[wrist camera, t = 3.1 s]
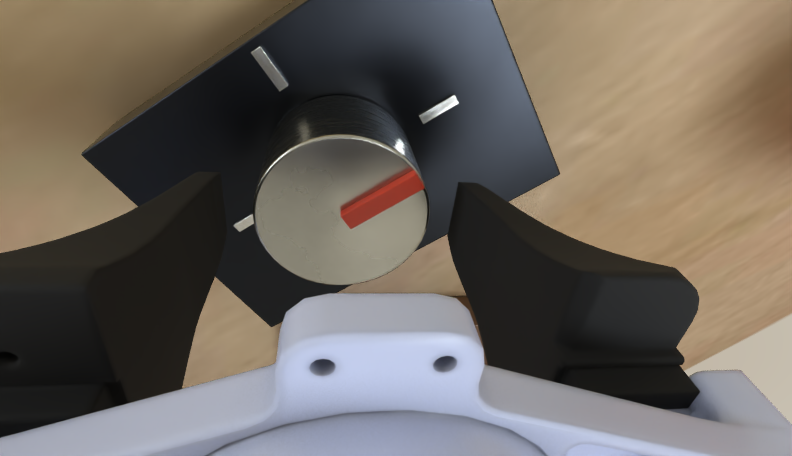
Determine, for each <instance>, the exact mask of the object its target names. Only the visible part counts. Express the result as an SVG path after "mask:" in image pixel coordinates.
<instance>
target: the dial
mask: <svg viewBox="0 0 792 456" xmlns="http://www.w3.org/2000/svg"><path fill="white" fill-rule="evenodd" d="M429 213H430V205H429V197H428V192H427V189H426V186H425V183H424V180H423V178H422V175H421V172H420V170H419V167H418V164H417V162H416V159H415V157H414V154H413V151H412V149H411V146H410V144H409V141H408V138H407V136H406V134H405V132H404V130H403V129H402V128H401V126H400V125H399V123H398V122H397V121H396V120H395V119H394V118H393V117H392V116H391V115H390V114H389V113H388V112H387V111H385V110H384V109H383V108H381V107H379V106H378V105H376V104H374V103H372V102H370V101H367V100H364V99H361V98H358V97H352V96H346V95H333V96H324V97H320V98H316V99H313V100H310V101H308V102H305V103H303V104H302V105H300V106H298V107H296V108H295V109H294V110H292V111H291V112H289V113H288V114H287V115H286V116H285V117H284V118H283V119H282V120H281V122H280V123H279V124H278V126H277V127H276V129H275V130H274V132H273V134H272V136H271V139H270V141H269V144H268V148H267V151H266V155H265V158H264V162H263V166H262V169H261V173H260V176H259V180H258V183H257V187H256V191H255V195H254V200H253V220H254V225H255V229H256V232H257V234H258V237H259V239H260V241H261V243H262V244H263V246H264V247H265V249H266V251H267V252H268V253H269V254H270V255H271V257H272V258H273V259H274V260H275V261H277V262H278V263H279V264H280V265H281V266H283V267H284V268H285V269H287V270H288V271H290V272H292V273H294V274H295V275H297V276H299V277H302V278H304V279H307V280H310V281H314V282H317V283H323V284H330V285H351V284H358V283H363V282H367V281H370V280H373V279H376V278H379V277H381V276H383V275H385V274H387V273H389V272H391V271H392V270H394V269H396V268H397V267H398V266H400V265H401V264H402V263H404V262H405V261H406V260H407V259H408V258H409V257H410V256H411V255H412V253H413V252H414V251H415V250H416V248H417V247H418V245H419V244H420V242H421V240H422V238H423V236H424V234H425V231H426V228H427V225H428V221H429Z"/></svg>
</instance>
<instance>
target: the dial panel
mask: <svg viewBox="0 0 792 456" xmlns="http://www.w3.org/2000/svg"><path fill="white" fill-rule="evenodd" d="M333 95H346V96H352V97H358V98H361V99H364V100H367V101H370V102H372V103H374V104H376V105H378V106H379V107H381V108H383V109H384V110H385V111H387V112H388V113H389V114H390V115H391V116H392V117H393V118H394V119H395V120H396V121H397V122H398V123H399V125H400V126H401V128H402V129H403V130H404V132H405V134H406V136H407V138H408V141H409V144H410V146H411V149H412V151H413V154H414V157H415V159H416V162H417V164H418V167H419V170H420V172H421V175H422V178H423V180H424V183H425V186H426V189H427V192H428V197H429V205H430V213H429V221H428V225H427V228H426V231H425V234H424V236H423V238H422V240H421V242H420V244H419V245H418V247H417V248H416V250H418V249H420V248H422V247H424V246H426V245H428V244H430V243H431V242H433V241H435V240H437V239H439V238H441V237H443V236H445V235H447V234H448V231H449V226H450V221H451V216H452V211H453V206H454V201H455V196H456V191H457V186H458V182H470V183H478V184H481V185H482V186H484V187H486V188H487V189H489V190H491V191H492V192H494V193H495V194H497V195H498V196H500V197H501V198H503V199H504V200H506V201H507V202H509V201H511V200H513V199H514V198H516V197H518V196H520V195H522V194H524V193H526V192H528V191H530V190H531V189H533V188H535V187H537V186H539V185H541V184H543V183H545V182H547V181H548V180H550V179H552V178H554V177H556V176H558V175H559V174H560V172H559V169H558V167H557V164H556V162H555V159H554V157H553V154H552V151H551V149H550V146H549V144H548V141H547V139H546V136H545V134H544V131H543V128H542V126H541V123H540V121H539V118H538V116H537V113H536V110H535V108H534V105H533V103H532V100H531V98H530V95H529V93H528V90H527V87H526V85H525V82H524V80H523V77H522V75H521V72H520V70H519V67H518V64H517V62H516V59H515V57H514V54H513V52H512V49H511V47H510V44H509V41H508V39H507V36H506V34H505V31H504V29H503V26H502V24H501V21H500V18H499V16H498V13H497V11H496V8H495V6H494V3H493V1H492V0H294V1H293V2H291V3H290V4H288V5H287V6H285V7H284V8H283V9H281V10H280V11H278V12H277V13H275V14H274V15H272V16H271V17H269V18H268V19H266V20H265V21H263V22H262V23H261V24H259V25H258V26H256V27H255V28H253V29H252V30H250V31H249V32H247V33H246V34H244V35H243V36H242V37H240V38H239V39H237V40H236V41H234V42H233V43H231V44H230V45H228V46H227V47H225V48H224V49H223V50H221V51H220V52H218V53H217V54H215V55H214V56H212V57H211V58H209V59H208V60H206V61H205V62H203V63H202V64H201V65H199V66H198V67H196V68H195V69H193V70H192V71H190V72H189V73H187V74H186V75H184V76H183V77H182V78H180V79H179V80H177V81H176V82H174V83H173V84H171V85H170V86H168V87H167V88H165V89H164V90H162V91H161V92H160V93H158V94H157V95H155V96H154V97H152V98H151V99H149V100H148V101H146V102H145V103H143V104H142V105H141V106H139V107H138V108H136V109H135V110H133V111H132V112H130V113H129V114H127V115H126V116H124V117H123V118H121V119H120V120H119V121H117V122H116V123H115V124H113V125H112V126H111V127H110V128H109V129H108V130H107V131H106V132H105V133H103V134H102V135H101V136H100V137H99V138H98V139H97V140H96V141H95V142H94V143H92V144H91V145H90V146H89V147H88V148H87V149H86V150H85V151H84V152H82V154H81V155H82V156H83V157H84V158H85V159H86V160H87V161H89V162H90V163H91V164H92V165H93V166H94V167H95V168H96V169H97V170H98V171H100V172H101V173H102V174H103V175H104V176H105V177H106V178H107V179H108V180H110V181H111V182H112V183H113V184H114V185H115V186H116V187H117V188H118V189H119V190H121V191H122V192H123V193H124V194H125V195H126V196H127V197H128V198H129V199H130V200H132V201H133V202H134V203H135V204H136V205H137V206H138V207H139V206H141V205H142V204H144V203H146V202H148V201H150V200H152V199H153V198H155V197H157V196H159V195H160V194H162V193H163V192H165V191H167V190H168V189H170V188H172V187H173V186H175V185H176V184H178V183H180V182H181V181H183V180H184V179H186V178H188V177H189V176H191V175H193V174H194V173H196V172H221V181H222V190H223V199H224V207H225V216H226V225H227V234H226V240H225V245H224V249H223V254H222V258H221V261H220V264H219V266H218V269H217V272H216V274H215V277H216V278H218V279H219V280H220V281H221V282H222V283H223V284H224V285H225V286H226V287H227V288H229V289H230V290H231V291H232V292H233V293H234V294H235V295H236V296H237V297H238V298H240V299H241V300H242V301H243V302H244V303H245V304H246V305H247V306H248V307H250V308H251V309H252V310H253V311H254V312H255V313H256V314H257V315H258V316H259V317H261V318H262V319H263V320H264V321H265V322H266V323H267V324H268V325H269V326H270V327H273V326H275V325H277V324H279V323H281V322H282V321H283V320H284V317H285V314H286V312H287V311H288V310H289V309H291V308H292V307H293V306H295V305H296V304H298V303H299V302H300V301H302V300H303V299H304V298H309V297H314V296H319V295H324V294H329V293H337V292H339V291H341V290H343V289H345V288H347V287H348V286H350V285H330V284H323V283H317V282H314V281H310V280H307V279H304V278H302V277H299V276H297V275H295V274H294V273H292V272H290V271H288V270H287V269H285V268H284V267H283V266H281V265H280V264H279V263H278V262H277V261H275V260H274V259H273V258H272V257H271V255H270V254H269V253H268V252H267V251H266V249H265V247H264V246H263V244H262V243H261V241H260V239H259V237H258V234H257V232H256V229H255V225H254V220H253V200H254V195H255V191H256V187H257V183H258V180H259V176H260V173H261V169H262V166H263V162H264V158H265V155H266V151H267V148H268V144H269V141H270V139H271V136H272V134H273V132H274V130H275V129H276V127H277V126H278V124H279V123H280V122H281V120H282V119H283V118H284V117H285V116H286V115H287V114H288V113H289V112H291V111H292V110H294V109H295V108H296V107H298V106H300V105H302V104H303V103H305V102H308V101H310V100H313V99H316V98H320V97H324V96H333ZM416 250H415V251H416ZM351 285H352V284H351Z"/></svg>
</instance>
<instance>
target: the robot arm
mask: <svg viewBox="0 0 792 456" xmlns="http://www.w3.org/2000/svg"><path fill="white" fill-rule="evenodd" d="M226 234H227V225H226V216H225V207H224V199H223V190H222V181H221V172H196V173H194V174H193V175H191V176H189V177H188V178H186V179H184V180H183V181H181V182H180V183H178V184H176V185H175V186H173V187H172V188H170V189H168V190H167V191H165V192H163V193H162V194H160V195H159V196H157V197H155V198H153V199H152V200H150V201H148V202H146V203H144V204H142V205H141V206H139V207H137V208H135V209H133V210H132V211H130V212H128V213H126V214H124V215H121V216H119V217H117V218H115V219H112V220H110V221H108V222H105V223H103V224H101V225H98V226H96V227H93V228H90V229H87V230H84V231H81V232H78V233H75V234H72V235H69V236H66V237H64V238H60V239H57V240H54V241H50V242H46V243H43V244H39V245H35V246H31V247H27V248H22V249H18V250H14V251H9V252H4V253H0V456H792V424H791V423H790V422H789V421H788V420H787V419H786V418H785V417H784V416H783V415H782V414H781V413H780V411H778V409H777V408H776V407H775V406H774V405H773V404H772V403H771V402H770V401H769V400H768V399H767V398H766V397H765V395H764V394H763V393H762V392H761V391H760V390H759V389H758V388H757V387H756V386H755V385H754V384H753V383H752V382H751V381H750V379H749V378H748V377H747V376H746V375H745V374H744V373H743V372H742V371H741V370H712V371H700V372H696V373H694V374H692V375H690V376H689V377H688V376H687V374H686V373H685V372H684V371H683V369H682V368H681V367H680V366H679V365H682V364H683V363H684V357H683V356H682V354H681V353H680V352H679V351H678V350H677V348H676V347H677V345H678V343H679V342H680V340H681V339H682V337H683V335H684V334H685V332H686V331H687V329H688V328H689V326H690V324H691V323H692V321H693V319H694V317H695V315H696V313H697V310H698V305H699V296H698V292H697V290H696V289H695V287H694V286H693V285H692V284H691V283H690V282H689V281H688V280H687V279H686V278H685V277H684V276H683V275H682V274H681V273H680V272H679V271H678V270H677V269H676V268H673V267H668V266H664V265H659V264H655V263H650V262H645V261H641V260H636V259H633V258H629V257H626V256H622V255H618V254H615V253H612V252H609V251H606V250H602V249H599V248H597V247H594V246H591V245H589V244H586V243H583V242H581V241H578V240H576V239H574V238H571V237H569V236H567V235H565V234H563V233H560V232H558V231H556V230H554V229H552V228H550V227H548V226H546V225H544V224H543V223H541V222H539V221H537V220H536V219H534V218H532V217H531V216H529V215H527V214H526V213H524V212H522V211H521V210H519V209H518V208H516V207H515V206H513V205H512V204H510V203H509V202H507V201H506V200H504V199H503V198H501V197H500V196H498V195H497V194H495V193H494V192H492V191H491V190H489V189H487V188H486V187H484V186H482V185H481V184H478V183H470V182H458V186H457V191H456V196H455V201H454V206H453V211H452V216H451V221H450V226H449V231H448V235H447V236H448V241H449V246H450V250H451V254H452V259H453V262H454V265H455V267H456V270H457V272H458V275H459V278H460V280H461V283H462V285H463V288H464V290H465V293H466V295H467V298H468V300H469V303H470V305H471V308H472V310H473V313H474V315H475V318H476V321H477V324H478V328H479V332H480V336H481V339H482V343H483V347H484V350H483V347H482V344H481V341H480V338H479V336H478V333H477V330H476V328H475V325H474V322H473V320H472V317H471V314H470V311H469V310H468V309H467V308H466V307H465V306H464V305H463V304H462V303H461V302H460V301H459V300H458V299H457V298H453V297H449V296H444V295H440V294H435V293H329V294H324V295H319V296H314V297H309V298H304V299H303V300H302V301H300V302H299V303H298V304H296V305H295V306H293V307H292V308H291V309H289V310H288V311H287V312H286V314H285V317H284V320H283V322H282V325H281V328H280V334H279V343H278V351H277V359H276V363H274V364H273V365H269V366H265V367H262V368H258V369H254V370H251V371H247V372H243V373H239V374H236V375H232V376H228V377H224V378H221V379H217V380H213V381H210V382H206V383H202V384H198V385H195V386H191V387H187V388H184V389H182V385H183V381H184V376H185V372H186V367H187V363H188V358H189V354H190V350H191V346H192V342H193V337H194V333H195V329H196V326H197V323H198V320H199V317H200V314H201V311H202V308H203V306H204V303H205V301H206V298H207V295H208V293H209V290H210V288H211V285H212V282H213V280H214V277H215V274H216V272H217V269H218V266H219V264H220V261H221V258H222V254H223V249H224V245H225V240H226ZM484 351H485V355H486V360H487V364H488V365H484Z"/></svg>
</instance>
